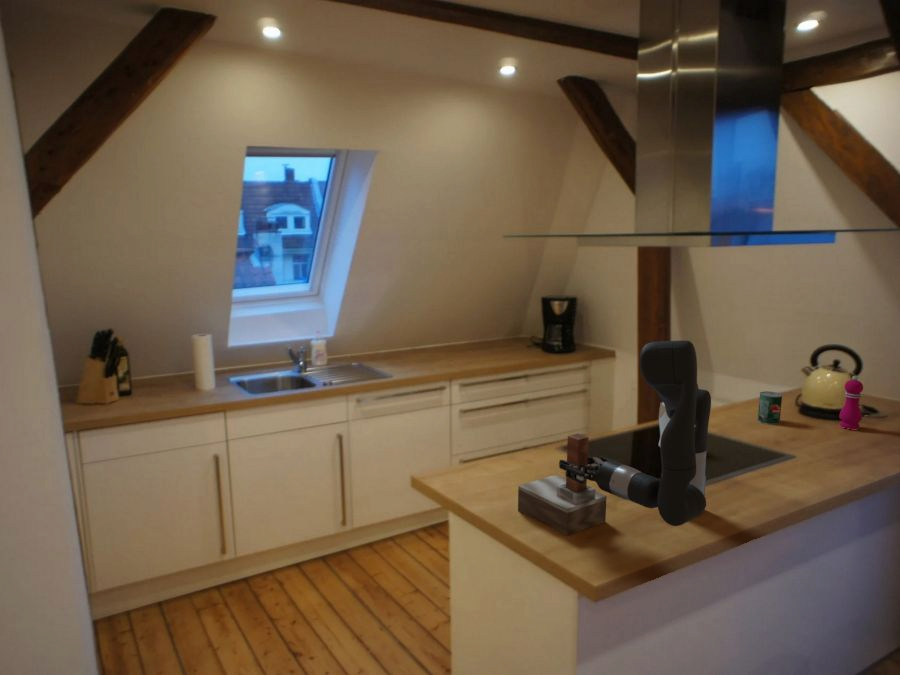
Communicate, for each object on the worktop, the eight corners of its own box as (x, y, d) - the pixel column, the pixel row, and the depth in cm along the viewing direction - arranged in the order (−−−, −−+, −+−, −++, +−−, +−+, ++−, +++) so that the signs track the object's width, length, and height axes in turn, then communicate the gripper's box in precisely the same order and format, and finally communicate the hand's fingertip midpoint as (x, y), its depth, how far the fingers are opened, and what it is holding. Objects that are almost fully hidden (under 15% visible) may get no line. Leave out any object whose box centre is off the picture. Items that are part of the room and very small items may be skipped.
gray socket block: (555, 498, 188) (556, 465, 186) (605, 521, 173) (607, 486, 172) (517, 510, 180) (518, 476, 178) (566, 535, 165) (567, 499, 164)
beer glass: (678, 450, 227) (680, 407, 225) (656, 448, 230) (659, 405, 227) (678, 444, 234) (681, 402, 231) (657, 442, 236) (660, 400, 234)
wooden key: (575, 493, 174) (577, 433, 171) (586, 497, 171) (588, 437, 168) (565, 496, 172) (567, 435, 169) (575, 501, 169) (578, 439, 166)
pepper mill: (833, 425, 257) (839, 374, 253) (851, 424, 257) (857, 373, 254) (847, 431, 250) (852, 378, 246) (865, 430, 250) (871, 378, 247)
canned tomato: (778, 425, 256) (780, 397, 254) (755, 422, 260) (758, 394, 258) (781, 420, 262) (783, 393, 261) (759, 417, 267) (761, 390, 265)
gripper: (642, 459, 162) (590, 441, 175) (601, 472, 153) (550, 451, 167) (640, 489, 163) (589, 468, 176) (600, 503, 155) (549, 480, 168)
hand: (570, 460), depth 171 cm, fingers open, 7 cm apart
